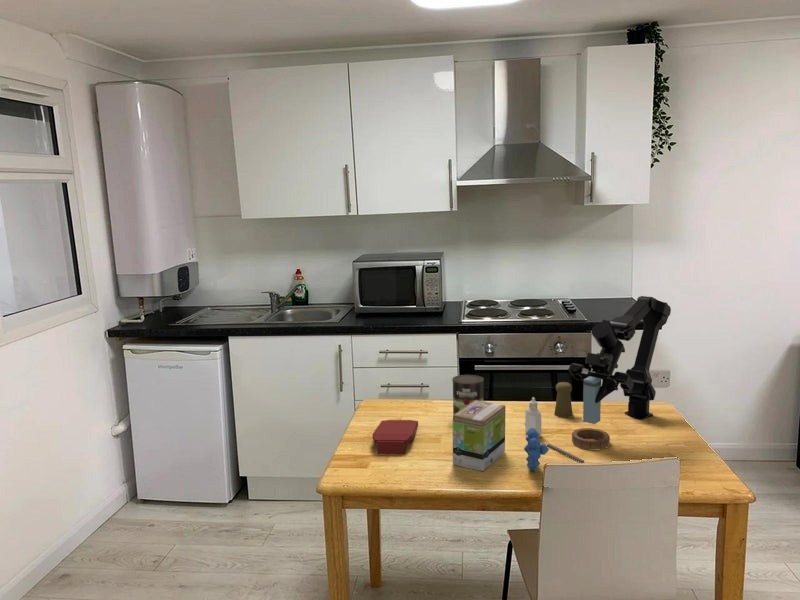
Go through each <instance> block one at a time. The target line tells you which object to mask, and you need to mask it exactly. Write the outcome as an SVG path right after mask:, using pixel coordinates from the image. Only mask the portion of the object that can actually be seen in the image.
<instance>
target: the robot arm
mask: <svg viewBox="0 0 800 600" xmlns="http://www.w3.org/2000/svg"><path fill="white" fill-rule="evenodd" d="M671 311H672V309H671V306H670V305H669V304H668V302H665V301H661V300H658V299H656V298H655V297H653V296H646V295H641V296H638V297H637V299H636V301H635V302H634V303H633V304H632V306H630V308H629V309H628V310H626V312H625V313H623V315H621V316H615V317H614V318H613V319H611V320H610V319H602V320H601V322H599V323H596V324H595V325H594V326H592V328H591V335H592V337H593V339H594V340H595V341H596V343H597V344H598V345H597V346H598V347H600V348H601V350H600V351H599V352H597V353H593V352H587V354H586V357H585V360H584V361H585V364H588V365H589V366H588V367H589V368H590V369H591V370H590V369H588V368H587V367H585V365H584V364H580V363H574V362H572V363H571V364H569V366H568V369H567V370H568V372H569V373H570V375H571V376H572V377H573V379H575V380H577V381H582V382H583V381H584V379H585V378H587V377H590V376H591V377H596V378H601V388H600V390H599V392H598V394H597V396H596V399H595V402H596V403H598V402H599V401H601V402H602V400H603V399H604V398H606V397H607V396H608V395H610V394H611V393H613V392H615V391H618V390H619V386H620V388H621V390H622V391H623V396H624V397H628V405H627V411H625V412H624V414H625V415H627V416H630V417H633V418H635V419H638V420H642V419H646V418H648V417H652V416H654V414H653V413H652V412H650V402H651V401H654V400H655V397H656V393H657V392H656V390H655V387H654V386H653V384H652V382H653V378H652V376H651V372H650V368H651V363H652V360H653V356H654V352H655V348H656V345H657V340H658V337H659V333H660V332H659V331H660V329H661V328H663V326H665V324H667V322H668V319H669V317H670V316H671ZM641 321H643V329H642V333H641V337H640V341H639V345H638V349H637V352H636V356H635V361H634V364H633V366H632V367H631V368H627V369H626V371H625V372H622V371H615V369H618V367H619V365H618V362H619V359H620V357H621V354H622V353H623V354H624V353H625V352H626V349H625V346H624V343H623V342H622V341H625V342H629V341H631V340H632V338H634V335H635V334H636V326H637V325H638V324H639V323H640V322H641ZM614 371H615V372H614ZM583 392H584V385H583V384H582V393H583Z"/></svg>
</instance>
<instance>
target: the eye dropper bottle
mask: <svg viewBox="0 0 800 600" xmlns="http://www.w3.org/2000/svg"><path fill="white" fill-rule="evenodd" d="M528 403H529V404H528V405H529V406H528V408H526V410H525V413H524V414H525V416H524V419H525V423H524V424H525V430H524V432H525V434H526V433H527V431H528V430H529V429H531V428H534V429H535V430H536V431H537V432H538V433H539V437H538V438H540V437H542V413H541V411H540V410H539V408H538V401H536V398H535V397H533V396H532V398H531V400H530V401H529V402H528Z"/></svg>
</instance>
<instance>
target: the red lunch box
mask: <svg viewBox="0 0 800 600" xmlns="http://www.w3.org/2000/svg"><path fill="white" fill-rule="evenodd" d="M418 427H419V421H418V420H412V419H386V420H381V421H380V423H379V424H378V425H377V427H376V429H375V430H374V432H373V433H372V440H373V442H374V445H376V455H401V456H402V455H405V453H406V445H408V444H409V443H410V442H411V441H412V440H413V439H414V437H415V434H416V431H417V429H418Z"/></svg>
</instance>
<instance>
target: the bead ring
mask: <svg viewBox="0 0 800 600" xmlns="http://www.w3.org/2000/svg"><path fill="white" fill-rule="evenodd" d="M583 437H585V438H583ZM591 437H592V439H586V438H591ZM597 438H598V439H597ZM610 439H611V438H610V434H609V433H608V432H606V431H604V430H601V429H597V428H592V427H581V428H578V429H574V430H573V432H571V442H572V444H573V445H574V446H575V445H576V447H577V446H578V448H580V449H583V448H584V449H583V450H588V449H601V450H603V449H602V448H604V449H607V448H608V447H609V446H610V442H611V441H610ZM608 445H609V446H608ZM606 447H607V448H606Z"/></svg>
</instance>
